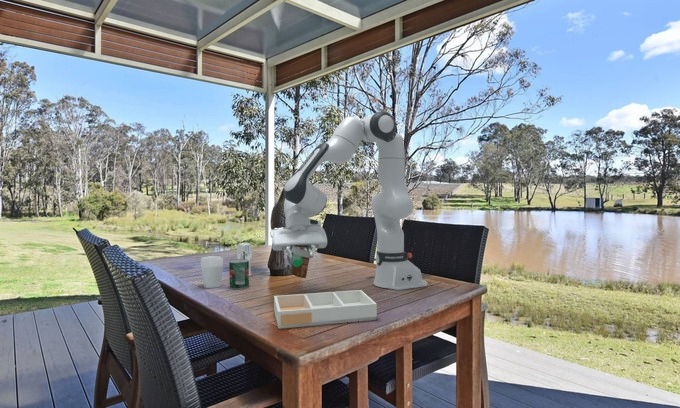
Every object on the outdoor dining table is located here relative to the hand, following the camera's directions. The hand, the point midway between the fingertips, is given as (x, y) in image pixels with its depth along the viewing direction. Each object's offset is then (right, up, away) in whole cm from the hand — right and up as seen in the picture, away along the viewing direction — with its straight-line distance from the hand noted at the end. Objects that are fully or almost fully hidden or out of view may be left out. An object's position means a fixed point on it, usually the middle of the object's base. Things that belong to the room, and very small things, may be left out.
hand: (301, 257), depth 134 cm
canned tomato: (-28, -16, +22) cm, 39 cm away
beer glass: (-31, -15, +42) cm, 54 cm away
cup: (-40, -16, +23) cm, 49 cm away
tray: (+8, -17, -13) cm, 23 cm away
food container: (-2, -6, +2) cm, 7 cm away
